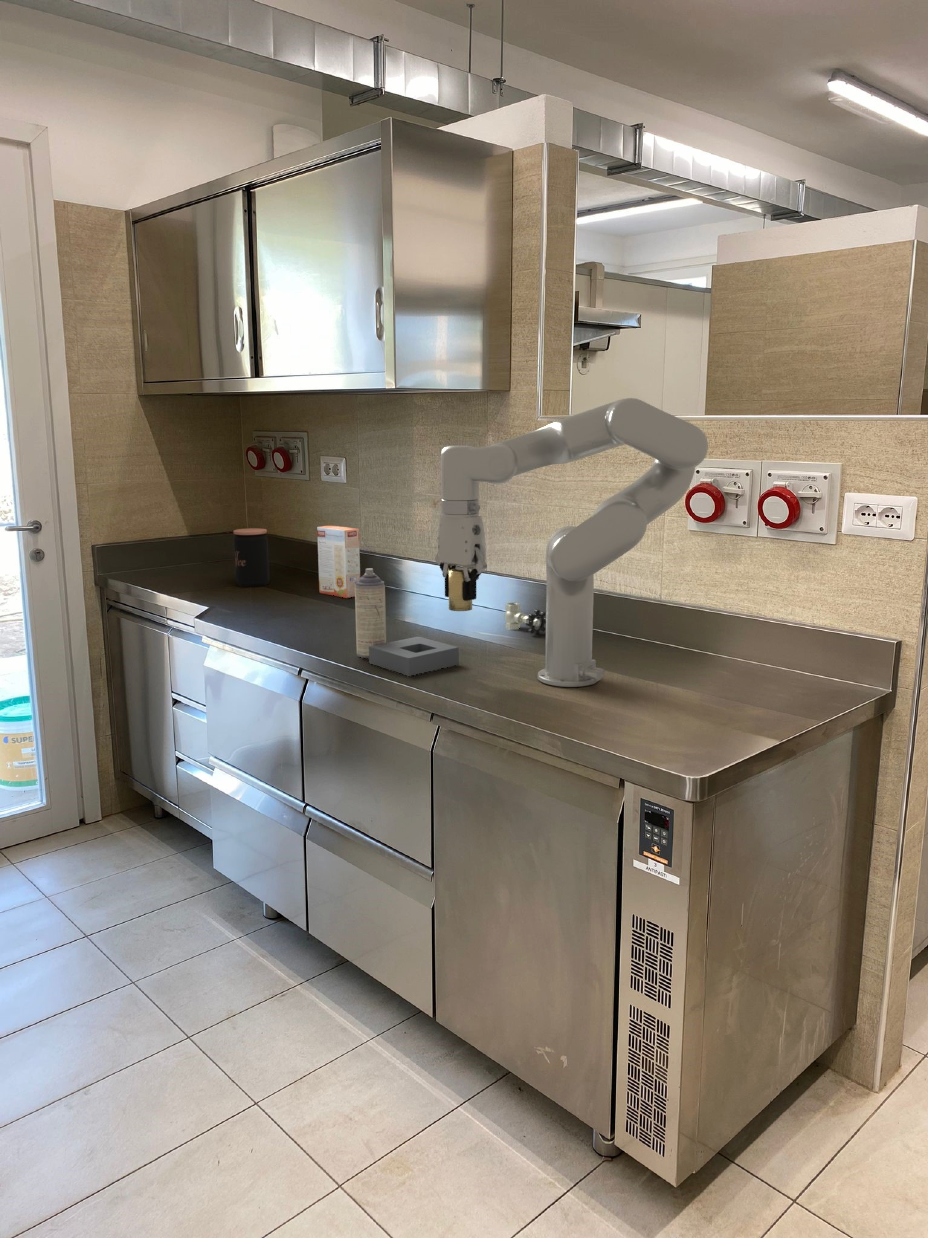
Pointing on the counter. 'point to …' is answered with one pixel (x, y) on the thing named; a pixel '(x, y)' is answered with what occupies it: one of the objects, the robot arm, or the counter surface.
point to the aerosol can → (369, 612)
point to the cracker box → (338, 560)
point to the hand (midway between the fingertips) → (460, 597)
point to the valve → (523, 619)
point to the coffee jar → (251, 557)
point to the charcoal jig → (414, 655)
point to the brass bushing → (457, 591)
